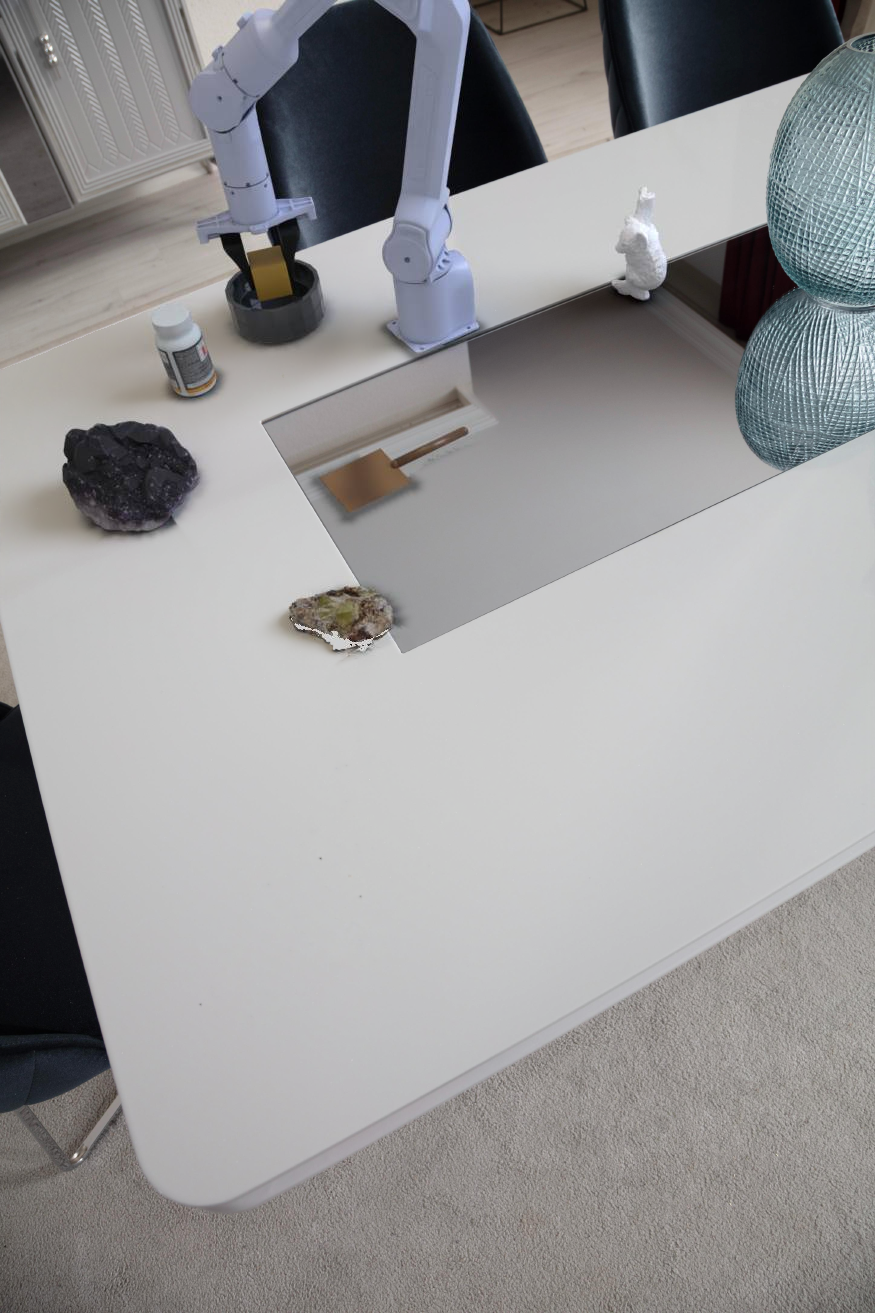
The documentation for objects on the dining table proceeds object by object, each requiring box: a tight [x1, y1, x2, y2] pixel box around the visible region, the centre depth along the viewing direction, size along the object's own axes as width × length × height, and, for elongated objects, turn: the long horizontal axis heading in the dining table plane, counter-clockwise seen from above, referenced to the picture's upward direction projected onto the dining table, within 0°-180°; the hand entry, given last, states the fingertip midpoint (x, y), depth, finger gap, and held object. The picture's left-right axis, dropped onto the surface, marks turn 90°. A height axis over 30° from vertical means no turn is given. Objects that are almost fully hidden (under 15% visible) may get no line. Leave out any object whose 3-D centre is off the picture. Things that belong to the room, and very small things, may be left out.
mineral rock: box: [288, 584, 395, 649], centre depth 90 cm, size 11×4×8 cm
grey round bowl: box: [224, 258, 326, 344], centre depth 122 cm, size 12×12×5 cm
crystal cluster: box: [61, 420, 200, 533], centre depth 102 cm, size 13×14×10 cm
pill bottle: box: [150, 302, 217, 398], centre depth 112 cm, size 6×6×10 cm
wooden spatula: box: [318, 426, 469, 514], centre depth 104 cm, size 18×7×1 cm, turn 122°
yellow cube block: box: [245, 244, 293, 302], centre depth 118 cm, size 4×4×4 cm
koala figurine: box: [611, 186, 668, 301], centre depth 116 cm, size 8×7×12 cm
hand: (271, 282), depth 119 cm, fingers closed on yellow cube block, 4 cm apart
